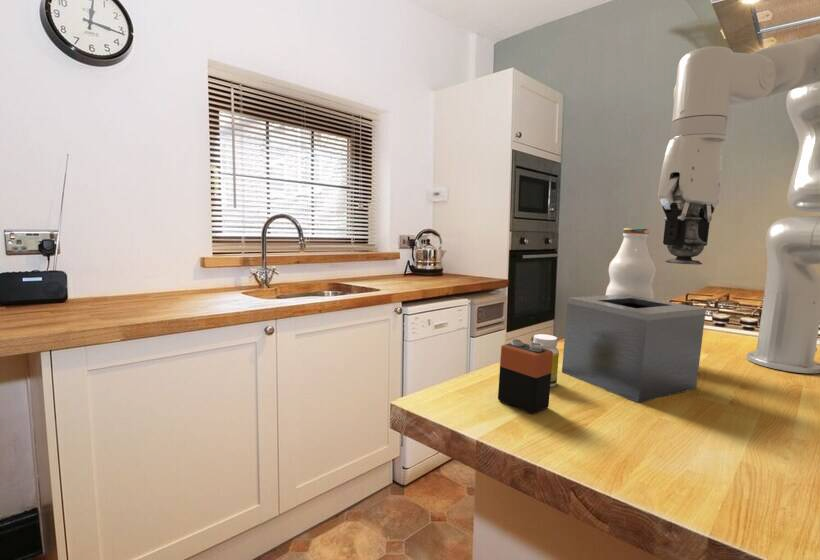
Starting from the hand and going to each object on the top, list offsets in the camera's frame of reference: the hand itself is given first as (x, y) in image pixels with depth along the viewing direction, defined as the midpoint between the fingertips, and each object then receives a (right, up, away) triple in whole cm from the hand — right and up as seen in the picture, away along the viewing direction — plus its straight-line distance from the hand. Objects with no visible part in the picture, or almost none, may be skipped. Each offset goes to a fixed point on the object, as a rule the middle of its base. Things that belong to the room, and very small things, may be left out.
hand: (685, 244), depth 73 cm
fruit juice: (+2, -23, +25) cm, 34 cm away
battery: (-28, -25, -5) cm, 38 cm away
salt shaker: (0, -3, 0) cm, 3 cm away
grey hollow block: (-6, -24, +8) cm, 26 cm away
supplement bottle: (-22, -24, +5) cm, 33 cm away
